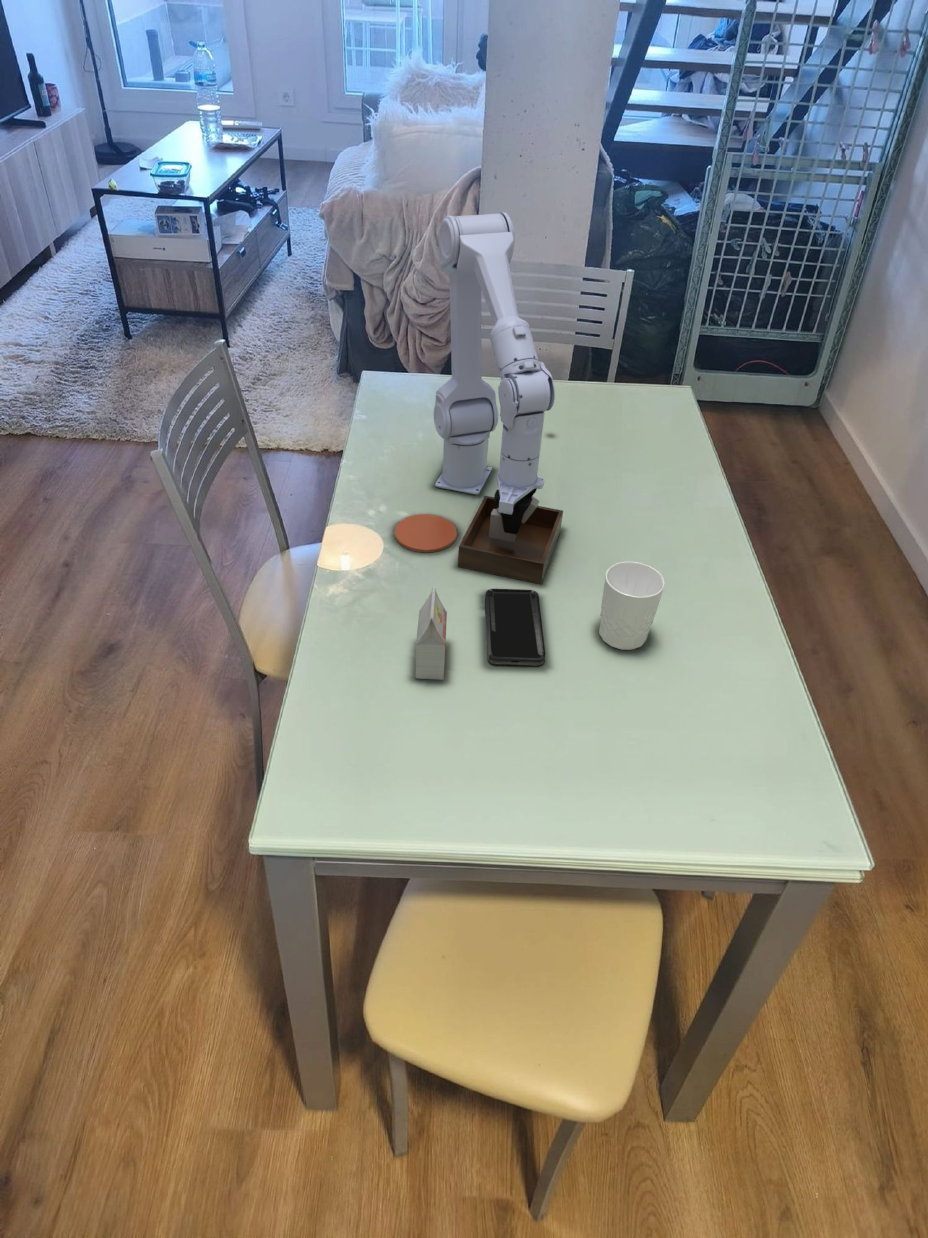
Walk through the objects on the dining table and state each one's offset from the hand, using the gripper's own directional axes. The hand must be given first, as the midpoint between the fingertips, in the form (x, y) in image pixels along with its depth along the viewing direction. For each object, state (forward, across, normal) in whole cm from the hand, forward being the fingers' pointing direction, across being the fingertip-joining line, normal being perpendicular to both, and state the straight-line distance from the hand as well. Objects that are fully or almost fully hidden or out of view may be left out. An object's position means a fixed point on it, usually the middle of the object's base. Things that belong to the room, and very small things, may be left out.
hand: (512, 528), depth 128 cm
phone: (+4, -19, -5) cm, 20 cm away
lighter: (+2, 0, 0) cm, 2 cm away
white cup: (+4, -15, -20) cm, 25 cm away
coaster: (+4, -1, +14) cm, 15 cm away
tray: (+4, 0, 0) cm, 4 cm away
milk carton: (+4, -29, +4) cm, 30 cm away
